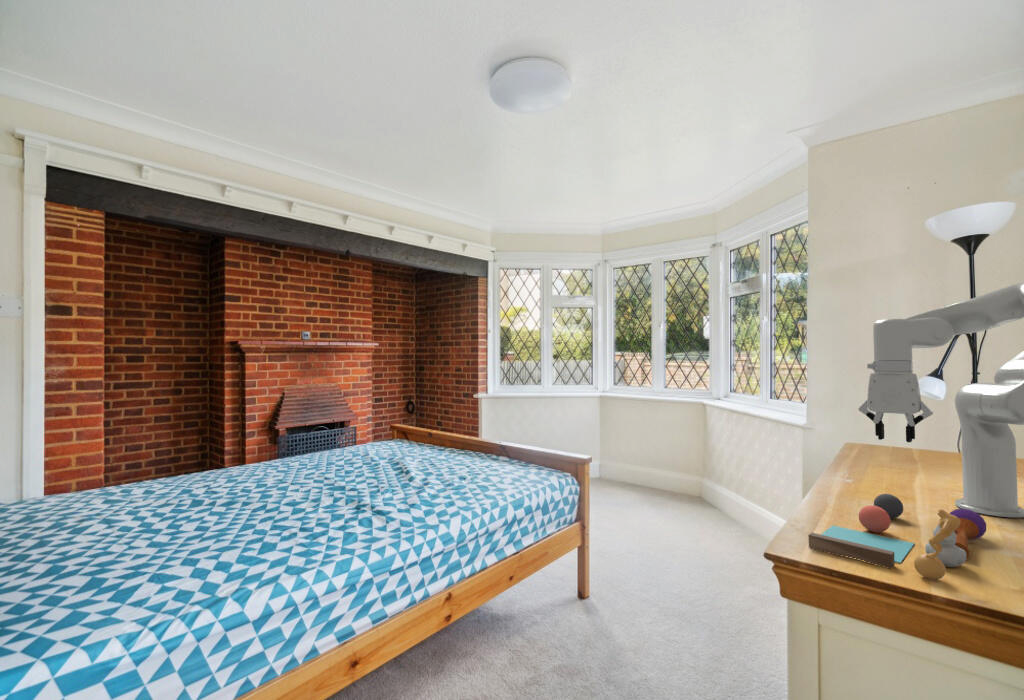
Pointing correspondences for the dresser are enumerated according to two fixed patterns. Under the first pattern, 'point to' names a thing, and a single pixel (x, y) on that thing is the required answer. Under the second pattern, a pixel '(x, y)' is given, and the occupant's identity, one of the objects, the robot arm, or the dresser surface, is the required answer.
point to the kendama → (968, 527)
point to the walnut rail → (852, 550)
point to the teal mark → (871, 541)
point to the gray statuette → (948, 550)
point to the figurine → (936, 548)
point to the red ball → (874, 518)
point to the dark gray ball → (889, 505)
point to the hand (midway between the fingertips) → (895, 439)
